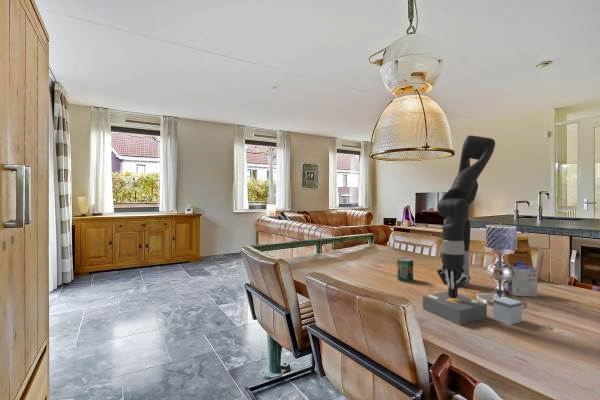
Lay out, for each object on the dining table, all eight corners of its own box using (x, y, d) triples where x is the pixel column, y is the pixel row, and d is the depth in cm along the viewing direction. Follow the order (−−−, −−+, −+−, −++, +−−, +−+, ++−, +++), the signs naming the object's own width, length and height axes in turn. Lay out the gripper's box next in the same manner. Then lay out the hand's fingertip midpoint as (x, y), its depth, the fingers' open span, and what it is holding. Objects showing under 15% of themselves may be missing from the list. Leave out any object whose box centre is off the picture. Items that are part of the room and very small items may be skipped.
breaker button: (444, 311, 113) (444, 299, 113) (452, 309, 114) (452, 297, 114) (454, 316, 109) (454, 303, 109) (462, 314, 110) (462, 301, 110)
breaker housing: (422, 308, 116) (422, 294, 116) (448, 303, 122) (448, 289, 122) (459, 325, 101) (459, 308, 101) (486, 318, 107) (486, 302, 107)
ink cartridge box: (531, 293, 133) (531, 260, 133) (538, 297, 128) (538, 263, 127) (506, 291, 135) (506, 260, 135) (512, 295, 130) (512, 262, 129)
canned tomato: (415, 282, 151) (415, 260, 151) (400, 282, 151) (399, 260, 151) (410, 278, 159) (410, 257, 159) (395, 278, 159) (395, 257, 159)
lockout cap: (493, 318, 107) (492, 298, 107) (503, 315, 109) (503, 296, 109) (510, 325, 101) (510, 304, 101) (521, 321, 104) (521, 301, 104)
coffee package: (534, 281, 150) (534, 238, 150) (505, 278, 156) (505, 236, 155) (529, 276, 159) (529, 235, 159) (501, 274, 165) (501, 234, 164)
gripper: (476, 254, 107) (476, 302, 107) (445, 248, 119) (445, 291, 119) (461, 256, 104) (461, 305, 104) (431, 249, 116) (431, 293, 116)
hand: (452, 297), depth 112 cm, fingers closed
